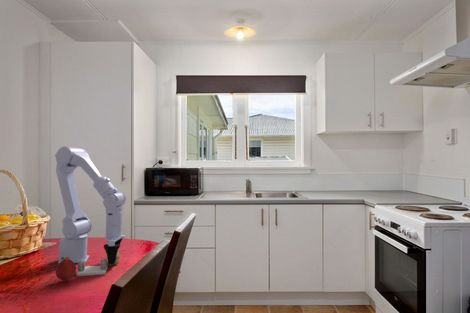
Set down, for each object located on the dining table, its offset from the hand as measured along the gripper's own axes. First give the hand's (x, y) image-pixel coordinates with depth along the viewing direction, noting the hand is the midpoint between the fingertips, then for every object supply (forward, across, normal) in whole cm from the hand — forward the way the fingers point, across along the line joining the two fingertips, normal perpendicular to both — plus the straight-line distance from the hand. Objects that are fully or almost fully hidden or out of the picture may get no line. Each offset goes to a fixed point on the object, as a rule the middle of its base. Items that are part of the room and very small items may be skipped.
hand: (113, 260), depth 120 cm
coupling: (+1, 0, 0) cm, 1 cm away
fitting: (+1, -7, +6) cm, 9 cm away
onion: (+2, -15, +13) cm, 20 cm away
